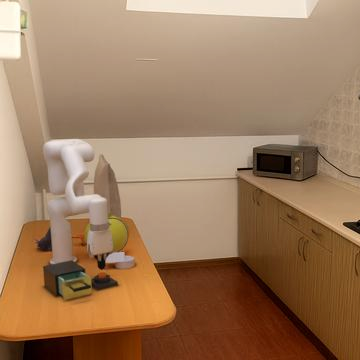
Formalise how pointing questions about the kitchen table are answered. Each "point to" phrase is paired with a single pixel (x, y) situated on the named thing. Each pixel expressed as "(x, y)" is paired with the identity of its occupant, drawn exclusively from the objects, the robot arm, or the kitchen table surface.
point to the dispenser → (59, 274)
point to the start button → (102, 275)
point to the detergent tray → (74, 285)
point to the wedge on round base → (121, 260)
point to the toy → (114, 232)
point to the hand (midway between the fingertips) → (101, 268)
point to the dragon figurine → (47, 242)
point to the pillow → (107, 186)
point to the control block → (103, 282)
